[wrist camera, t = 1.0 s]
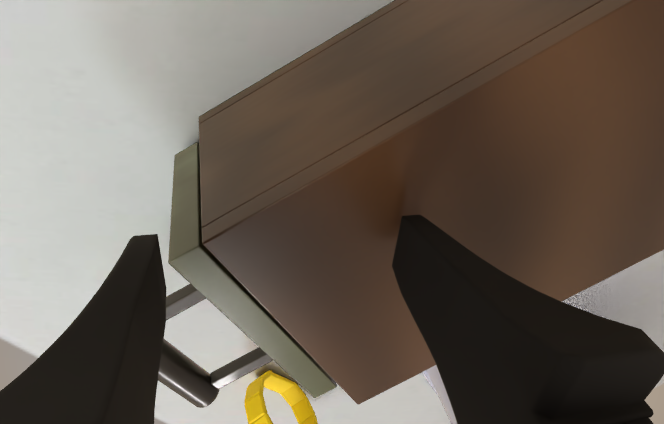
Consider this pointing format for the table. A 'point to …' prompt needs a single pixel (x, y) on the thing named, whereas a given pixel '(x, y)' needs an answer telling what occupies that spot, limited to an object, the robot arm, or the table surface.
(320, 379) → the drawer
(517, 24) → the cabinet
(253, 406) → the watch
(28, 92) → the table surface
